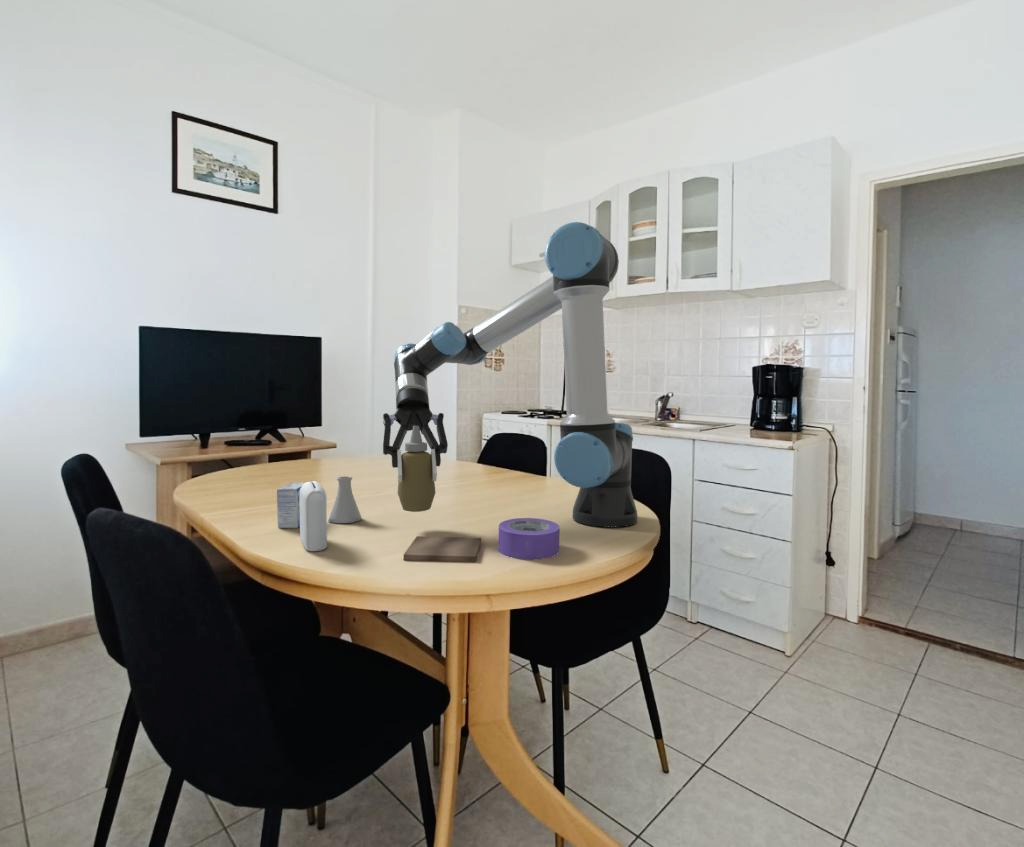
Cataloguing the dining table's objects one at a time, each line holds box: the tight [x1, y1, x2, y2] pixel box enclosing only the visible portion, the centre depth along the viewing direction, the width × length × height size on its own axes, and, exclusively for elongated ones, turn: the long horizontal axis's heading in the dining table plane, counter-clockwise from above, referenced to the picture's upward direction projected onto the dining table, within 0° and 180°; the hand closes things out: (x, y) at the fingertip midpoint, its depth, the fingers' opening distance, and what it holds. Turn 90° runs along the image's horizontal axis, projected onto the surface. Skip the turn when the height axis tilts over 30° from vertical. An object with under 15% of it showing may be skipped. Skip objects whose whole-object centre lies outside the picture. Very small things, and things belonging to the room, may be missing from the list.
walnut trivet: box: [403, 535, 482, 563], centre depth 106 cm, size 13×12×1 cm
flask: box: [327, 475, 362, 524], centre depth 128 cm, size 7×7×10 cm
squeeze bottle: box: [397, 426, 437, 513], centre depth 120 cm, size 8×8×18 cm
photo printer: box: [299, 480, 328, 552], centre depth 109 cm, size 10×4×12 cm, turn 27°
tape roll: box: [497, 517, 561, 561], centre depth 108 cm, size 12×12×5 cm
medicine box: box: [276, 482, 305, 529], centre depth 124 cm, size 8×4×9 cm, turn 179°
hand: (417, 477), depth 116 cm, fingers closed on squeeze bottle, 6 cm apart
